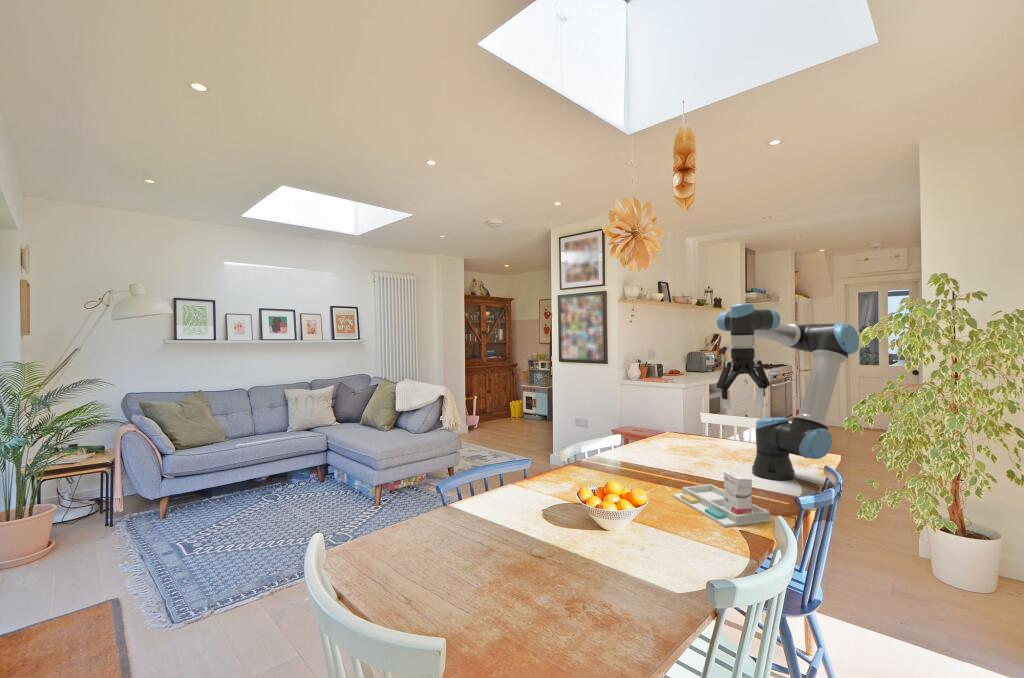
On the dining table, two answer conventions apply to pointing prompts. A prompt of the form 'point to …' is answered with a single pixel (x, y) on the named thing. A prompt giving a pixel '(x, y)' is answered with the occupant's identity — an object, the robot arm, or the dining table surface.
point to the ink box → (737, 493)
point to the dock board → (718, 506)
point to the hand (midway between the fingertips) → (743, 407)
